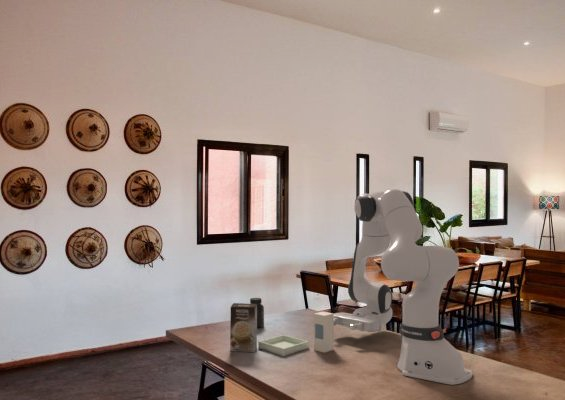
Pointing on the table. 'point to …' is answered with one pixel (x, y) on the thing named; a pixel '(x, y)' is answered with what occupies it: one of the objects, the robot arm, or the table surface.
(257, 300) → the supplement bottle
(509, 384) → the table surface
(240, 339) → the coffee box
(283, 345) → the tray
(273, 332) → the table surface
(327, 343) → the box
